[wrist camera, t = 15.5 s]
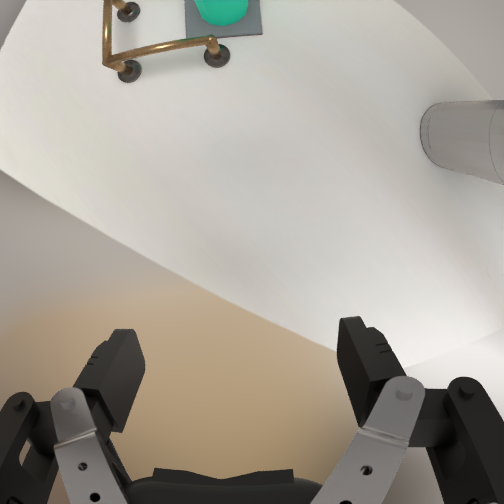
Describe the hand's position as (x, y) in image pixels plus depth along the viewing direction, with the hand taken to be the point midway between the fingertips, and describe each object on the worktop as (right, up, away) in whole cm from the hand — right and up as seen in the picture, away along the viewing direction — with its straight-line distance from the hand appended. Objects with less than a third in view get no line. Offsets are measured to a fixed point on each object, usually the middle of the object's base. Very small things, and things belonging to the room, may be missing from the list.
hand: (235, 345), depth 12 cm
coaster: (-3, +33, +17) cm, 38 cm away
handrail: (-9, +30, +18) cm, 37 cm away
